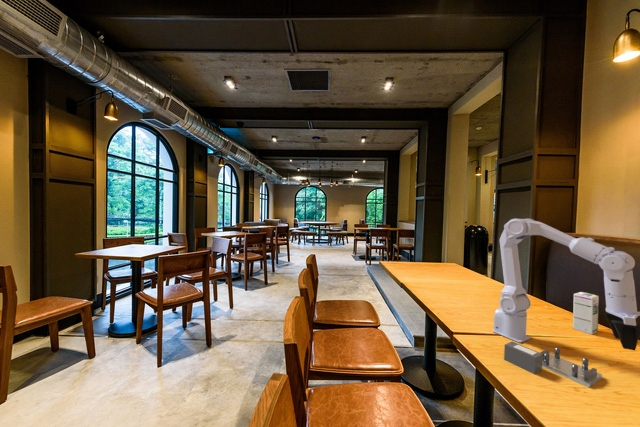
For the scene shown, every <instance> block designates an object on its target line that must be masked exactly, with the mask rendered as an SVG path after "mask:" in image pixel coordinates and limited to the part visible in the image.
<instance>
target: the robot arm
mask: <svg viewBox="0 0 640 427" xmlns="http://www.w3.org/2000/svg"><path fill="white" fill-rule="evenodd" d="M503 228H504V229H503V231H502V233H501V235H500V238H499V247H500V248H499V249H500V256H501V257H500V258H501V265H502V274H503V283H504V287H503V288H502V289H501V292H500V299H499V306H500V307H497V308H496V310H495V311H494V314H493V329H492V332H493V333H495V334H498V335H499V336H502V337H505V338H507V339H510V340H512V341H513V342H516V343H518V344H520V343H523V342H525V341H528V340H531V339H532V336H530V335H527V320H528V319H527V317H528V315H527V314H528V312H527V310H528V309H530V307H531V300H530V297H529V296H528V294H527V290H526V289H525V288H524V287H523V283H522V282H523V281H522V272H521V265H520V258H519V256H520V254H519V249H518V248H519V247H518V244H519V243H521V242H522V241H523V240H524V239H526V238H528V237H531V236H542V237H544V238H546V239H549V240H552V241H553V242H555V243H559V244H561V245H563V246H566V247H567V248H569V250H570V252H571V253H572V254H574V255H577V256H579V257H580V258H582V259H584V260H587V261H589V262H591V263H593V264H595V265H599V267H600V269H601V270H603V285H604V296H605V311H603V315H604V316H605V317H606V319H607V321H608V322H609V325H610V328H611V331H612V334H613V337H614V339H616V340H619V341H620V344H621V347H622V348H623V349H624V350H631V351H636V349H637V346H638V341H639V338H640V324H637V321H636V320H637V318H638V317H640V311H638V307H637V305H638V304H637V297H636V286H635V280H634V279H635V278H634V273H633V269H634V267H635V265H636V261H635V259H634V257H633V256H632V255H630V253H629V254H628V253H627V252H626V251H622V250H621V251H620V250H615V247H612V246H609V247H608V246H605V245H604V244H601V243H598V242H596V241H595V239H594V238H592V237H587V238H586V237H578V238H576V237H574V236H571V235H569V234H567V233H565V232H563V231H560V230H559V229H557V228H554V227H552V226H550V225H548V224H546V223H544V222H541V221H537V220H534V219H533V218H511V219H510V220H508V222H506V223H505V224H504V225H503Z"/></svg>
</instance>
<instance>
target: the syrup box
mask: <svg viewBox="0 0 640 427" xmlns="http://www.w3.org/2000/svg"><path fill="white" fill-rule="evenodd" d="M599 298H600V297H599V295H597V294H594V293H589V292H584V291H579V292H575V293H573V302H572V303H573V305H572V306H573V307H572V308H573V312H572V314H573V315H572V329H574V330H576V331H578V332H581V333H583V334H588V335H594V334H596V333H597V332H599V306H600V305H599V300H600V299H599Z"/></svg>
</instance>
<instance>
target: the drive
mask: <svg viewBox="0 0 640 427" xmlns="http://www.w3.org/2000/svg"><path fill="white" fill-rule="evenodd" d="M503 349H504V352H503V353H504V354H503V356H504V357H503V361H505V362H507V363H510V364H512V365H513V366H516V367H518V368H521V369H522V370H525V371H527V372H529V373H531V374H533V375H536V374H538V373H540V372H541V371H542V370H543V367H542V355H543V354H541V353H540V352H538V351H536V350H534V349H531V348H529V347H528V346H524V345H521V344H520V343H518V342H516V341H510V342H508V343H505V344H504V348H503Z"/></svg>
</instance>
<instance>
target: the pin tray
mask: <svg viewBox="0 0 640 427" xmlns="http://www.w3.org/2000/svg"><path fill="white" fill-rule="evenodd" d="M539 353H541V354H543V355H542V368H545V369H547V370H549V371H551V372H554V373H556V374H558V375H560V376H563V377H564V378H566V379H569V380H571V381H573V382H576V383H578V384H580V385H583V386H584V387H587V388H591V387H593V386H594V385H595V384H597V383H598V382H599V381H600V380H602V379H603V374H602V373H599V372H598V369H597V368H594V367H592V368H591V369H590V368H589V358H587V357H582V364H581V365H580V364H577V363H574V362H573V361H570V360H567V359H565V358H562V357H561V348H560V347H557V346H555V348H554V354H553V353H551V352H550V350H549V349H547V348H545V349H544V350H542V351H540V352H539Z"/></svg>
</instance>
